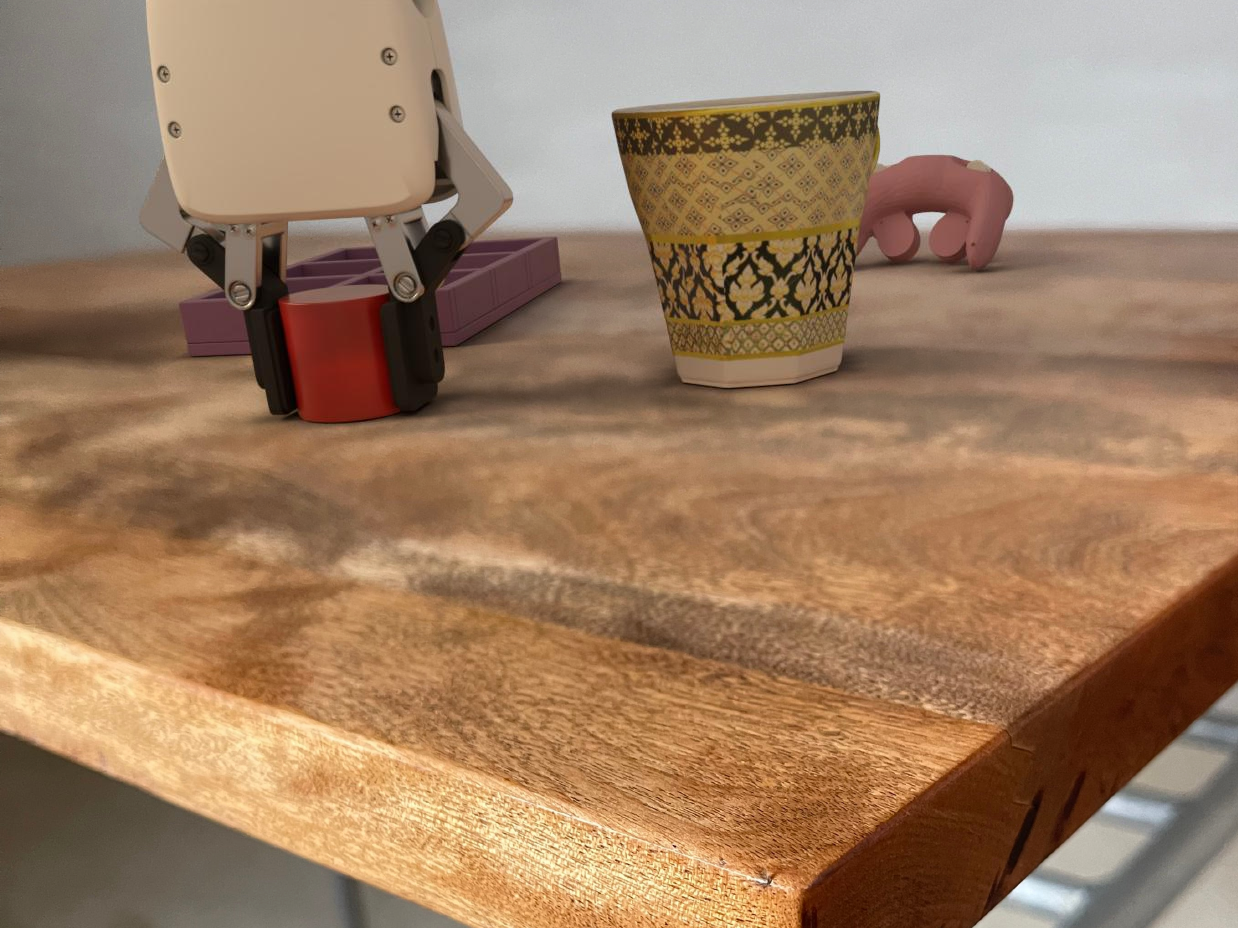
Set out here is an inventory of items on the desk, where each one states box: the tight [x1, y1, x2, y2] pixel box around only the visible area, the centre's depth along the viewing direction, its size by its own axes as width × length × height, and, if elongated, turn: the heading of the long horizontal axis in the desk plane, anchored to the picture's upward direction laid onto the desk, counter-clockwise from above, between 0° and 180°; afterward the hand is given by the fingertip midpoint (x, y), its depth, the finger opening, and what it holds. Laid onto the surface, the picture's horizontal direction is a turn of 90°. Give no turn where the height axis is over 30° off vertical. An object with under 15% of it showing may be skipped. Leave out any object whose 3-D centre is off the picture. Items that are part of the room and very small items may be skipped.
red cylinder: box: [278, 285, 402, 424], centre depth 55 cm, size 4×4×4 cm
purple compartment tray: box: [178, 236, 563, 357], centre depth 77 cm, size 20×14×3 cm
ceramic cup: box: [610, 90, 881, 389], centre depth 56 cm, size 13×10×10 cm
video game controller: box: [856, 154, 1015, 272], centre depth 80 cm, size 10×5×7 cm, turn 59°
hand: (355, 400), depth 55 cm, fingers closed on red cylinder, 4 cm apart
